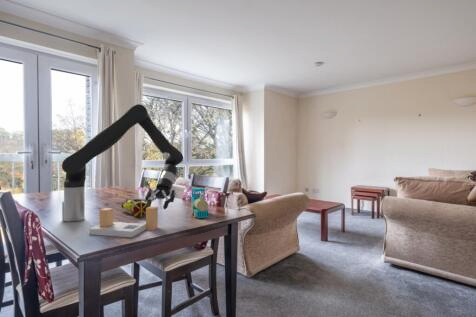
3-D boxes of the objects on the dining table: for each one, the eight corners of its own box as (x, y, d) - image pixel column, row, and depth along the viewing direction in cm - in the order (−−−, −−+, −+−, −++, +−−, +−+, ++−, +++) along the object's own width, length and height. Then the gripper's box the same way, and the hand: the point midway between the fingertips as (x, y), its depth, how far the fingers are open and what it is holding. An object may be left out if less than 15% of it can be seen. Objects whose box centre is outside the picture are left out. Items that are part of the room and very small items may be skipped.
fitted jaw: (99, 231, 122) (99, 209, 122) (105, 229, 126) (105, 207, 126) (107, 232, 122) (107, 210, 121) (113, 229, 126) (113, 208, 125)
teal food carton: (196, 219, 147) (196, 192, 146) (190, 213, 162) (190, 187, 162) (210, 218, 150) (210, 191, 149) (203, 212, 165) (203, 187, 165)
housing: (89, 234, 119) (89, 228, 119) (106, 226, 131) (106, 221, 131) (131, 237, 116) (132, 231, 116) (145, 229, 128) (145, 224, 127)
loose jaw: (145, 229, 128) (145, 208, 127) (149, 227, 131) (150, 206, 131) (153, 229, 127) (154, 208, 127) (157, 227, 131) (157, 206, 131)
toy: (119, 210, 169) (125, 220, 143) (119, 196, 169) (125, 202, 143) (146, 208, 177) (157, 217, 151) (146, 194, 177) (157, 200, 151)
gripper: (150, 177, 142) (139, 203, 131) (176, 177, 140) (167, 204, 129) (155, 185, 148) (145, 211, 137) (180, 186, 146) (172, 212, 135)
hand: (156, 208), depth 133 cm, fingers open, 8 cm apart
